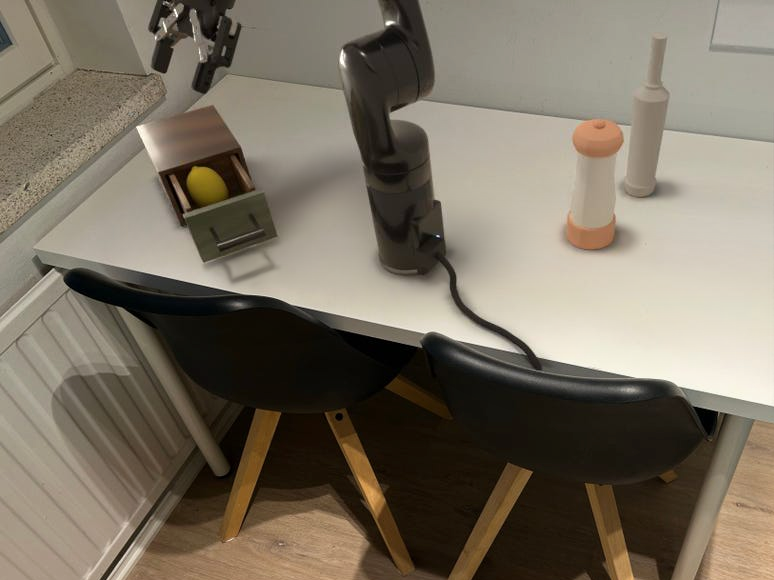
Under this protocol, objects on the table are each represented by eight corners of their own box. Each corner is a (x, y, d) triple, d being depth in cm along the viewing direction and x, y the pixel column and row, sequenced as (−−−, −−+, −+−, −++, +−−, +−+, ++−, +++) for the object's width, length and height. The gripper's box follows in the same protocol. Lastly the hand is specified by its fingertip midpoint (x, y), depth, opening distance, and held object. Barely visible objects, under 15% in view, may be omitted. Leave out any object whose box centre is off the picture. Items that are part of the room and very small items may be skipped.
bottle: (652, 200, 116) (675, 45, 98) (620, 195, 117) (637, 41, 99) (657, 182, 119) (681, 29, 101) (626, 178, 121) (644, 26, 102)
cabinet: (258, 200, 121) (240, 146, 114) (181, 226, 117) (157, 172, 110) (230, 156, 131) (213, 104, 124) (158, 178, 127) (136, 126, 120)
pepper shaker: (600, 216, 114) (610, 102, 100) (622, 242, 109) (636, 126, 95) (558, 228, 112) (563, 114, 98) (579, 254, 107) (587, 139, 93)
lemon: (224, 212, 111) (194, 164, 108) (200, 224, 113) (170, 178, 110) (244, 201, 115) (216, 155, 112) (220, 213, 118) (192, 168, 115)
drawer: (290, 256, 109) (276, 211, 103) (213, 284, 105) (194, 238, 99) (248, 189, 122) (234, 146, 116) (179, 212, 118) (160, 168, 112)
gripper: (156, -66, 94) (121, 56, 98) (229, -38, 88) (189, 90, 92) (201, -40, 100) (167, 73, 104) (272, -12, 95) (233, 106, 99)
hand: (177, 81), depth 98 cm, fingers open, 8 cm apart
